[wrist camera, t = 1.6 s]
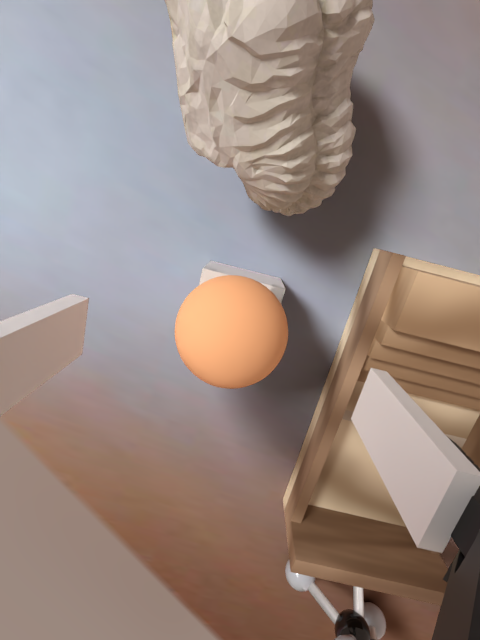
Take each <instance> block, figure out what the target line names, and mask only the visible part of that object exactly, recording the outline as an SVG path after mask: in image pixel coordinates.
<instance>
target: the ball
mask: <svg viewBox="0 0 480 640" xmlns="http://www.w3.org/2000/svg"><path fill="white" fill-rule="evenodd" d="M175 340H176V345H177V349H178V352H179V354H180V356H181V359H182V360H183V362H184V364H185V365H186V366H187V368H188V369H189V370H190V371H191V372H192V373H193V374H194V375H195V376H197V377H198V378H199V379H201V380H203V381H204V382H206V383H208V384H210V385H213V386H216V387H221V388H230V389H233V388H242V387H246V386H249V385H252V384H255V383H257V382H259V381H260V380H262V379H264V378H265V377H266V376H268V375H269V374H270V373H271V372H272V371H273V370H274V369H275V367H276V366H277V365H278V363H279V362H280V360H281V358H282V357H283V354H284V352H285V349H286V345H287V341H288V324H287V318H286V315H285V312H284V309H283V307H282V305H281V303H280V302H279V300H278V299H277V297H276V296H275V295H274V294H273V293H272V292H271V291H270V290H269V289H268V288H267V287H266V286H264V285H263V284H261V283H260V282H257V281H255V280H253V279H251V278H247V277H244V276H238V275H226V276H220V277H215V278H213V279H210V280H208V281H206V282H204V283H202V284H201V285H199V286H198V287H196V288H195V289H194V290H193V291H192V292H191V293H190V294H189V295H188V296H187V297H186V299H185V300H184V302H183V304H182V305H181V307H180V310H179V312H178V315H177V318H176V324H175Z"/></svg>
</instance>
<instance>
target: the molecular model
mask: <svg viewBox="0 0 480 640" xmlns="http://www.w3.org/2000/svg"><path fill="white" fill-rule="evenodd" d="M285 574H286V578H287V581H288V583H289V584H290V586H291V587H292V588H293V589H295V590H297V591H300V592H305V591H307V590H308V591H309V592H310V593H311V594H312V596H313V597H314V598H315V600H316V601H317V602H318V603H319V605H320V606H321V607H322V609H323V610H324V611H325V613H326V614H327V615H328V616H329V618H330V619H331V620H332V622H333V623H334V624H335V635H336V638H335V639H334V640H379V639H381V638H382V637H383V636H384V634H385V631H386V620H385V617H384V615H383V613H382V611H381V610H380V608H379V607H378V606H376V605H375V604H373V603H371V602H364V595H363V588H360V587H355V586H353V610H351V609H346V610H343V611H342V612H340V613H338V611H337V610H336V609H335V608H334V606H333V605H332V604H331V603H330V601H329V600H328V599H327V598H326V596H325V595H324V594H323V593H322V591H321V590H320V589H319V588H318V586H317V585H316V584H315V583H314V582H315V577H310V576H306V575H301V574H297V573H292V572H291V571H290V562H289V560H288V561H287V564H286V568H285Z"/></svg>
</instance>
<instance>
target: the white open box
mask: <svg viewBox="0 0 480 640" xmlns="http://www.w3.org/2000/svg"><path fill="white" fill-rule="evenodd" d="M226 275H238V276H244V277H247V278H251V279H253V280H255V281H257V282H260V283H261V284H263V285H264V286H266V287H267V288H268V289H269V290H270V291H271V292H272V293H273V294H274V295H275V296H276V297H277V299H278V300H279V302H280V303H282V299H283V296H284V293H285V287H284V285H283V283H282V280H281V278H278V277H274V276H270V275H266V274H262V273H258V272H254V271H250V270H246V269H242V268H238V267H234V266H231V265H227V264H223V263H219V262H215V261H210V262H209V263H208V264H207V265H206V266H205V267H204V268H203V270H202V274H201V279H200V284H199V285H201V284H202V283H204V282H206V281H208V280H210V279H213V278H215V277H220V276H226Z"/></svg>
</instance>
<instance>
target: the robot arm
mask: <svg viewBox="0 0 480 640" xmlns="http://www.w3.org/2000/svg"><path fill="white" fill-rule="evenodd" d="M88 302H89V298H86V297H82V296H78V295H74V294H71V295H68V296H65V297H63V298H60V299H58V300H55V301H52V302H50V303H47V304H45V305H42V306H39V307H37V308H34V309H31V310H29V311H26V312H24V313H21V314H18V315H16V316H13V317H10V318H8V319H5V320H3V321H0V416H1V415H3V414H4V413H5V412H7V411H8V410H9V409H11V408H12V407H13V406H14V405H16V404H17V403H18V402H20V401H21V400H22V399H24V398H25V397H26V396H28V395H29V394H30V393H32V392H33V391H34V390H36V389H37V388H38V387H39V386H41V385H42V384H43V383H45V382H46V381H47V380H49V379H50V378H51V377H53V376H54V375H55V374H57V373H58V372H59V371H61V370H62V369H63V368H65V367H66V366H67V365H68V364H70V363H71V362H72V361H74V360H75V359H76V358H78V357H79V356H80V355H82V351H83V343H84V335H85V326H86V318H87V310H88ZM351 420H352V422H353V424H354V426H355V428H356V430H357V432H358V433H359V435H360V437H361V439H362V441H363V443H364V445H365V447H366V449H367V451H368V453H369V455H370V457H371V459H372V461H373V463H374V465H375V467H376V468H377V470H378V472H379V474H380V476H381V478H382V480H383V482H384V484H385V486H386V488H387V490H388V492H389V494H390V496H391V498H392V500H393V502H394V504H395V505H396V507H397V509H398V511H399V513H400V515H401V517H402V519H403V521H404V523H405V525H406V527H407V529H408V531H409V533H410V535H411V537H412V539H413V540H414V542H415V544H416V546H417V548H422V549H426V550H430V551H435V552H439V553H443V551H444V549H445V547H446V545H447V544H448V542H449V540H450V538H451V537H452V538H453V540H454V541H455V543H456V544H457V546H458V547H459V549H460V550H459V551H458V553H457V555H456V557H455V558H454V560H453V562H452V564H451V565H450V567H449V569H448V571H447V572H446V574H445V576H444V578H443V580H444V581H445V582H447V586H446V590H445V593H444V597H443V601H442V604H441V608H440V612H439V615H438V619H437V623H436V626H435V630H434V634H433V637H432V640H480V468H479V467H478V466H477V465H476V464H474V462H473V461H472V459H471V458H470V457H469V456H467V455H466V453H465V452H464V451H463V450H462V449H461V448H460V447H459V446H458V445H457V444H456V443H455V442H454V441H452V440H451V439H450V438H448V437H447V436H446V435H445V434H444V433H443V432H442V431H441V430H440V429H439V427H438V426H437V425H436V424H435V423H434V422H433V421H432V420H431V419H430V418H429V417H428V416H427V414H426V413H425V412H424V411H423V410H422V409H421V408H420V407H419V406H418V405H417V404H416V403H415V401H414V400H413V399H412V398H411V397H410V396H409V395H408V394H407V393H406V392H405V391H404V390H403V389H402V387H401V386H400V385H399V384H398V383H397V382H396V381H395V380H394V379H393V378H392V377H391V376H390V374H389V373H388V372H387V371H382V370H378V369H374V368H371V369H370V371H369V374H368V376H367V379H366V381H365V384H364V386H363V389H362V392H361V394H360V397H359V399H358V402H357V404H356V407H355V409H354V412H353V415H352V417H351Z"/></svg>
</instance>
